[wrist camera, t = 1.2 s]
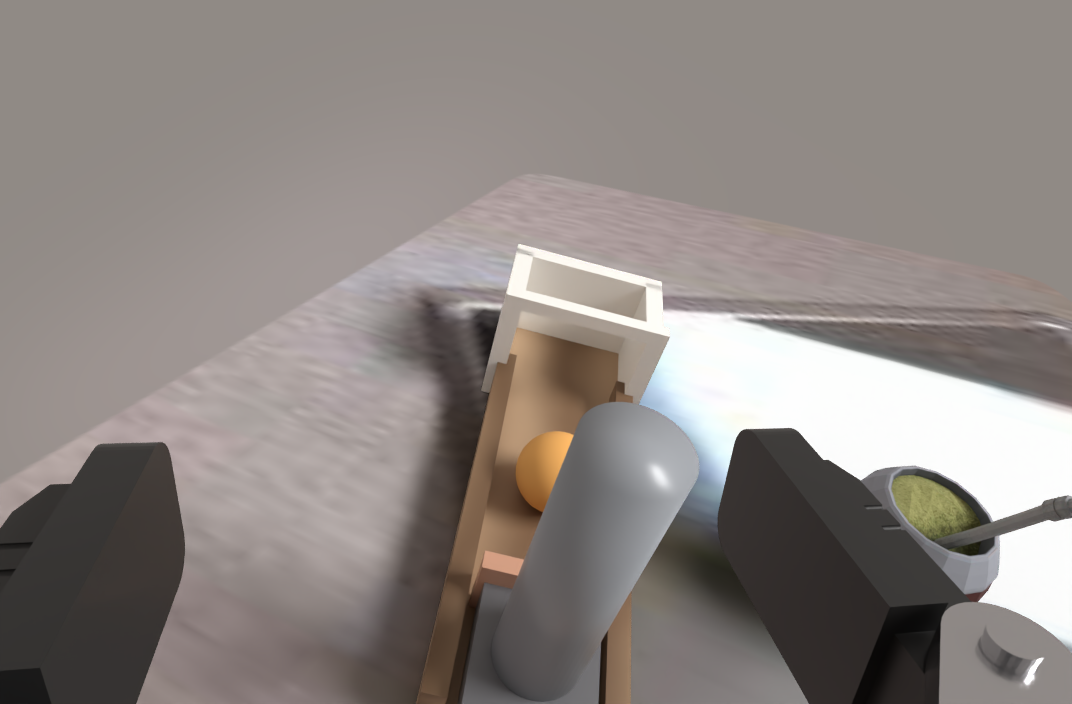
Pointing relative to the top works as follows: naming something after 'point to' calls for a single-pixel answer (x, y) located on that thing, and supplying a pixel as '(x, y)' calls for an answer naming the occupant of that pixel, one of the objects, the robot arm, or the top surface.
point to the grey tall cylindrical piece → (577, 560)
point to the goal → (583, 313)
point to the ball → (541, 466)
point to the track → (521, 497)
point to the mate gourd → (954, 522)
